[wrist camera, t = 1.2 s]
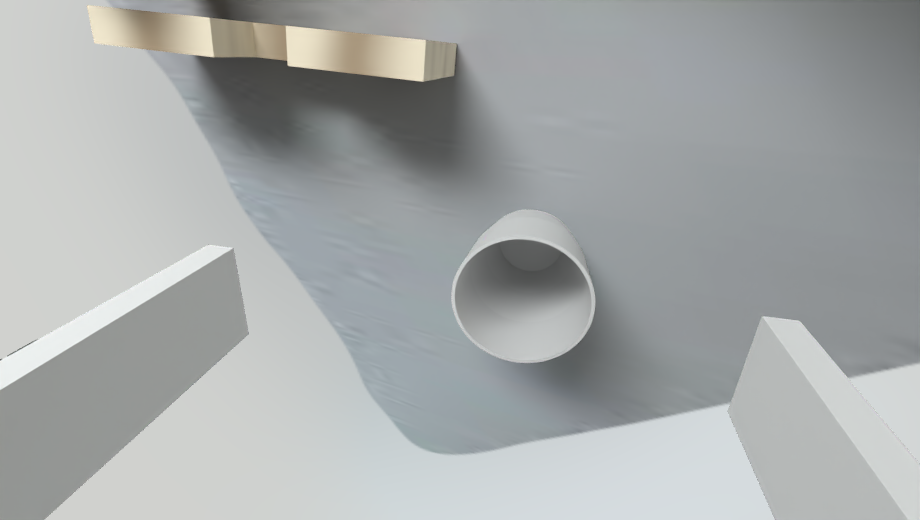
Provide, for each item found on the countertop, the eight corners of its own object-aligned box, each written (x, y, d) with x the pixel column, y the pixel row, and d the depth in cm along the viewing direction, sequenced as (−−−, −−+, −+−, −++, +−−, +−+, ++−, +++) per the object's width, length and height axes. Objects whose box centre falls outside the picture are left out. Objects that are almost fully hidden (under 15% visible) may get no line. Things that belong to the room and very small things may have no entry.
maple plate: (190, 45, 35) (94, 43, 28) (186, 15, 34) (86, 4, 27) (454, 75, 32) (423, 81, 25) (456, 43, 31) (425, 40, 24)
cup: (474, 281, 38) (448, 351, 29) (482, 182, 35) (455, 227, 26) (577, 295, 37) (582, 373, 28) (595, 195, 34) (607, 246, 25)
